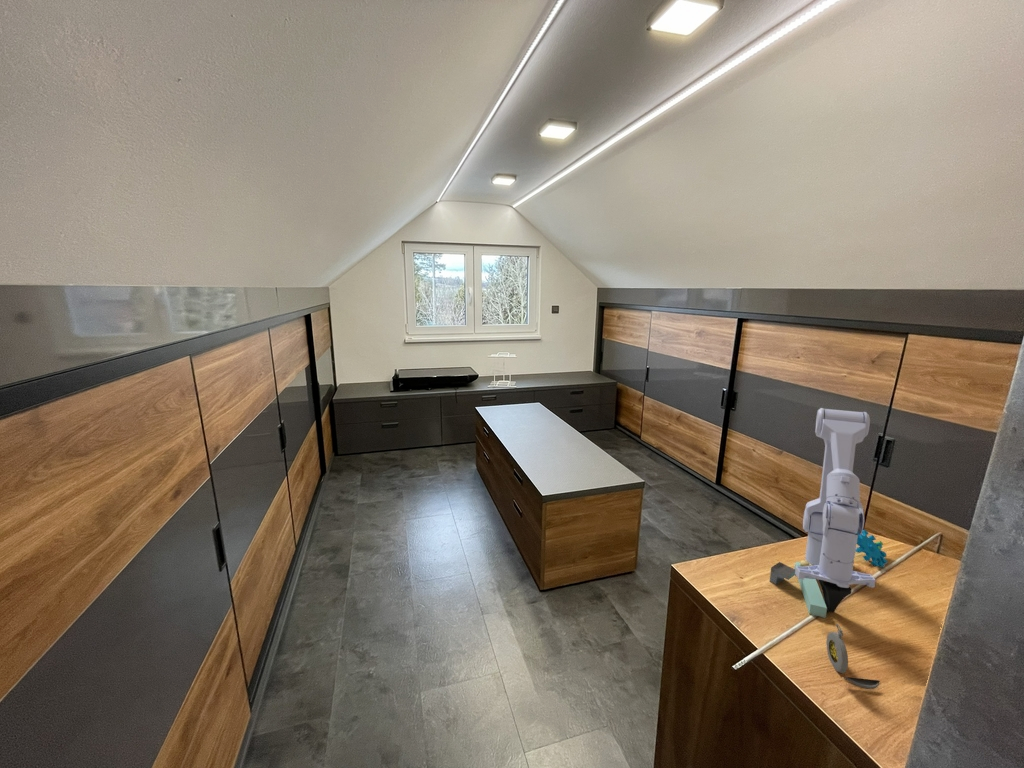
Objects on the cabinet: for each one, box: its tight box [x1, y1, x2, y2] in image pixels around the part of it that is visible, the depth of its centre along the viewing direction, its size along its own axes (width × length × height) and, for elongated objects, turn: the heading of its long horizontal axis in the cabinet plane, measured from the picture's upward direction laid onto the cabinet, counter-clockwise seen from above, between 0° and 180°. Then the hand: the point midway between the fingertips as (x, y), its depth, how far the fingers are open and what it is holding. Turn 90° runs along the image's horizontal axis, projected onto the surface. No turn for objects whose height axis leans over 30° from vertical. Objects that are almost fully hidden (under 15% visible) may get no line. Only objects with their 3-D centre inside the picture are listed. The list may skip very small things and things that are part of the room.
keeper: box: [769, 561, 796, 586], centre depth 101 cm, size 4×4×5 cm
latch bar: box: [793, 559, 828, 619], centre depth 97 cm, size 17×4×4 cm, turn 154°
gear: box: [855, 529, 888, 568], centre depth 112 cm, size 11×6×10 cm
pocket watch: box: [826, 622, 881, 690], centre depth 77 cm, size 8×8×10 cm
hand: (829, 608), depth 91 cm, fingers closed
